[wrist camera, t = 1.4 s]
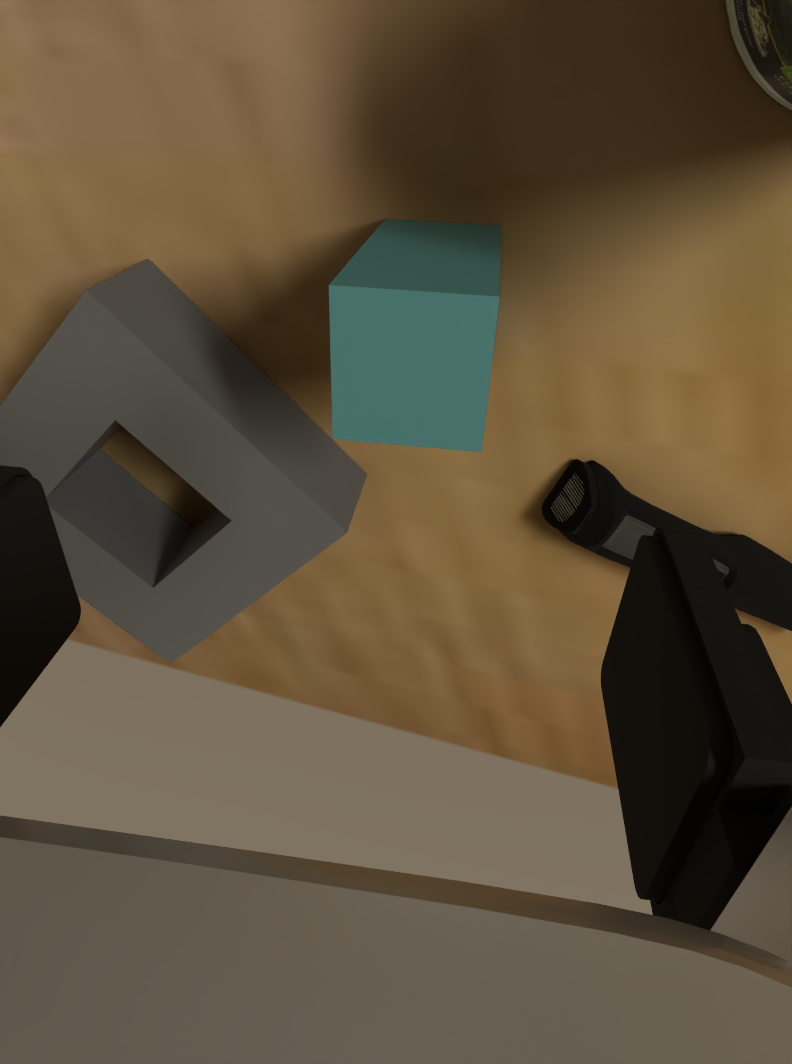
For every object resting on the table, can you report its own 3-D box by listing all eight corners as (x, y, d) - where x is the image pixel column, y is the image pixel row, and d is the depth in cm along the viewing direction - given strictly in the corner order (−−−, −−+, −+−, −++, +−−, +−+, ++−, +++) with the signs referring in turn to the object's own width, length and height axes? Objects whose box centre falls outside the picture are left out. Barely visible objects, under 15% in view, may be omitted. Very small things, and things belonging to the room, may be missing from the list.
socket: (148, 258, 27) (85, 290, 23) (367, 474, 32) (346, 532, 28) (6, 440, 33) (-64, 490, 29) (206, 600, 38) (170, 664, 34)
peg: (500, 225, 25) (499, 296, 17) (487, 341, 27) (481, 452, 19) (385, 219, 25) (328, 285, 17) (382, 333, 28) (332, 439, 20)
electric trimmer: (799, 630, 34) (825, 676, 32) (535, 508, 32) (539, 547, 29) (857, 580, 32) (889, 625, 30) (579, 446, 30) (587, 481, 27)
